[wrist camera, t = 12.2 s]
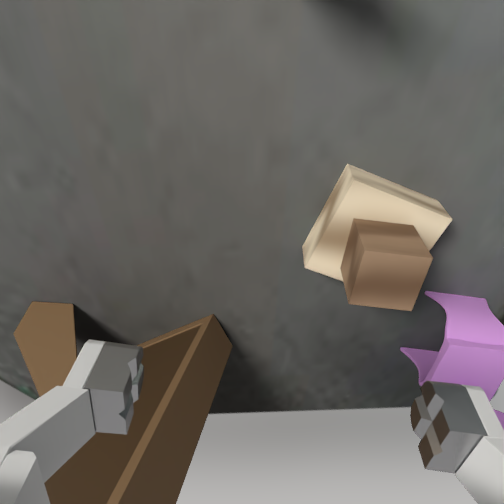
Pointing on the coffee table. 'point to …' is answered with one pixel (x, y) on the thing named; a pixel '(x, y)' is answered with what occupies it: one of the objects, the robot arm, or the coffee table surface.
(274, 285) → the coffee table surface
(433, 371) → the toy chair
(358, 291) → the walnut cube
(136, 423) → the photo frame
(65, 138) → the coffee table surface
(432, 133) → the coffee table surface
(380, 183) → the beech block
